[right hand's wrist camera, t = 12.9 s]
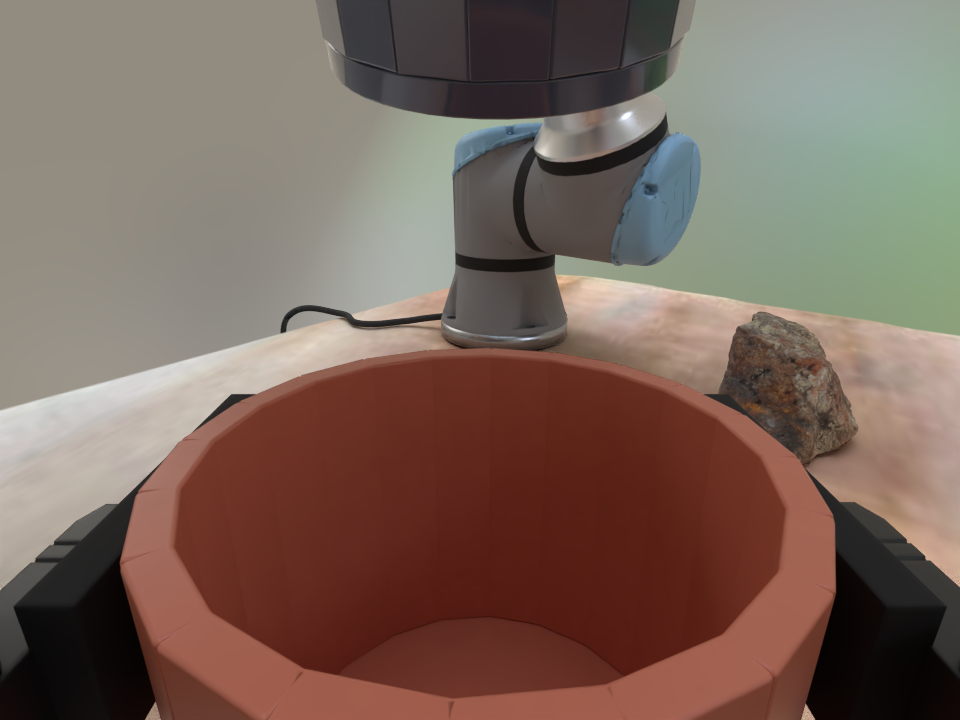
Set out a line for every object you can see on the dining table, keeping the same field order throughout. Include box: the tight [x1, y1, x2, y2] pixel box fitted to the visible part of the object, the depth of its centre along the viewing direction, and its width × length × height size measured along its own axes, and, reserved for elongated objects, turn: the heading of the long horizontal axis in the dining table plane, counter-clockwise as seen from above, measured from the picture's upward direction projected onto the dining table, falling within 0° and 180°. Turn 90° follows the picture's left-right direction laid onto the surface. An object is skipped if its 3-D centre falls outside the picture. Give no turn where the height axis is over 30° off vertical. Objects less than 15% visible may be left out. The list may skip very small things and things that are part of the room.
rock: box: [718, 312, 858, 465], centre depth 44 cm, size 14×9×10 cm
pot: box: [120, 348, 836, 720], centre depth 11 cm, size 10×10×9 cm
